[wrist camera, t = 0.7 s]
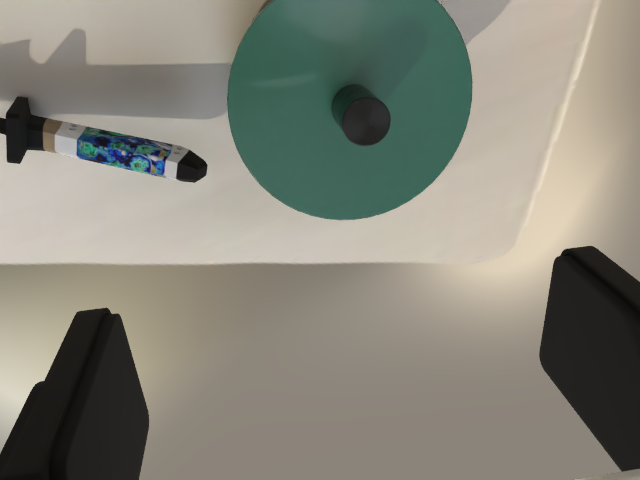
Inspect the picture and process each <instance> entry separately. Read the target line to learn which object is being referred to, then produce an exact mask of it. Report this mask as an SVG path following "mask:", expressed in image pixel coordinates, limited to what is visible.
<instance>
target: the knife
mask: <svg viewBox="0 0 640 480" xmlns="http://www.w3.org/2000/svg"><path fill="white" fill-rule="evenodd" d="M0 133H2V134H5V135H6V141H7V162H8V163H18V164H20V163H21V161H22V159H23V157H24V155H25V153H26V151H27V150H41V151H49V152H53V153H58V154H62V155H66V156H71V157H75V158H80V159H84V160H88V161H93V162H97V163H102V164H106V165H111V166H115V167H120V168H124V169H128V170H133V171H137V172H142V173H146V174H151V175H155V176H160V177H164V178H168V179H173V180H178V181H184V182H196V181H198V180H200V179H201V178H203V177H204V176H206V173H207V164H206V162H205V161H204V160H203V159H201V158H200V157H199V156H197V155H196V154H195V153H193V152H192V151H190V150H188V149H186V148H184V147H181V146H177V145H172V144H167V143H163V142H158V141H153V140H148V139H143V138H139V137H134V136H129V135H124V134H120V133H115V132H110V131H105V130H100V129H96V128H91V127H86V126H81V125H76V124H72V123H67V122H62V121H57V120H52V119H48V118H43V117H39V116H35V115H31V111H30V107H29V103H28V98H25V97H17V98H16V100H15V101H14V102H13V104H12V105H11V107H10V108H9V110H8V111H7V113H6V119H4V118H0Z"/></svg>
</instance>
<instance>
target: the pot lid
mask: <svg viewBox="0 0 640 480" xmlns="http://www.w3.org/2000/svg"><path fill="white" fill-rule="evenodd" d="M471 101H472V74H471V65H470V61H469V57H468V53H467V49H466V46H465V44H464V41H463V39H462V36H461V34H460V32H459V30H458V28H457V26H456V25H455V23H454V21H453V19H452V18H451V17H450V16H449V14H448V13H447V12H446V10H445V9H444V8H443V6H442V5H441V4H440V3H439V2H438V1H437V0H272V1H271V2H270V3H269V4H268V5H267V6H266V7H265V8H264V9H263V10H262V11H261V12H260V13H259V14H258V16H257V17H256V18H255V20H254V21H253V22H252V24H251V25H250V27H249V28H248V30H247V31H246V33H245V35H244V37H243V39H242V41H241V43H240V45H239V47H238V49H237V52H236V55H235V58H234V61H233V63H232V68H231V73H230V77H229V84H228V97H227V102H228V117H229V123H230V128H231V133H232V136H233V139H234V142H235V145H236V148H237V150H238V152H239V154H240V156H241V158H242V160H243V162H244V164H245V165H246V167H247V168H248V170H249V171H250V173H251V174H252V176H253V177H254V178H255V179H256V180H257V181H258V183H259V184H260V185H261V186H262V187H263V188H264V189H265V190H266V191H268V192H269V193H270V194H271V195H272V196H273V197H275V198H276V199H278V200H279V201H281V202H282V203H284V204H285V205H287V206H289V207H291V208H293V209H295V210H297V211H300V212H303V213H305V214H308V215H311V216H315V217H320V218H325V219H335V220H355V219H361V218H368V217H372V216H375V215H379V214H383V213H385V212H388V211H390V210H392V209H395V208H397V207H399V206H401V205H403V204H404V203H406V202H408V201H410V200H411V199H413V198H414V197H415V196H417V195H418V194H420V193H421V192H422V191H423V190H425V189H426V188H427V187H428V186H429V185H430V184H431V183H432V182H433V181H434V180H435V179H436V178H437V177H438V176H439V175H440V174H441V172H442V171H443V170H444V169H445V167H446V166H447V164H448V163H449V162H450V160H451V159H452V157H453V155H454V153H455V152H456V150H457V148H458V146H459V144H460V142H461V139H462V137H463V134H464V132H465V129H466V126H467V122H468V118H469V115H470V108H471Z"/></svg>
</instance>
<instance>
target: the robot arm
mask: <svg viewBox="0 0 640 480" xmlns="http://www.w3.org/2000/svg"><path fill="white" fill-rule="evenodd" d="M539 355H540V361H541V365H542V367H543V369H544V370H545V372H546V373H547V374H548V376H549V377H550V378H551V380H552V381H553V382H554V384H555V385H556V386H557V387H558V389H559V390H560V391H561V393H562V394H563V395H564V396H565V398H566V399H567V400H568V402H569V403H570V404H571V406H572V407H573V408H574V410H575V411H576V412H577V414H578V415H579V416H580V418H581V419H582V420H583V421H584V423H585V424H586V425H587V427H588V428H589V429H590V431H591V432H592V433H593V435H594V436H595V437H596V438H597V440H598V441H599V442H600V443H601V445H602V446H603V447H604V449H605V450H606V452H607V453H608V454H609V455H610V457H611V458H612V459H613V461H614V462H615V463H616V465H617V466H618V467H619V468H620V469H621V471H622V472H617V473H611V474H605V475H599V476H593V477H587V478H581V479H574V480H640V282H639V281H638V280H636V279H635V278H634V277H633V276H631V275H630V274H629V273H627V272H626V271H625V270H624V269H622V268H621V267H620V266H618V265H617V264H616V263H615V262H613V261H612V260H611V259H609V258H608V257H607V256H606V255H604V254H603V253H602V252H600V251H599V250H598V249H596V248H595V247H593V246H586V247H578V248H571V249H565V250H564V251H563V252H562V253H561V255H560V256H559V257H557V258H556V259H555V261H554V264H553V271H552V277H551V283H550V289H549V296H548V302H547V308H546V315H545V321H544V327H543V334H542V340H541V346H540V354H539ZM148 428H149V415H148V409H147V406H146V402H145V399H144V395H143V392H142V388H141V385H140V381H139V378H138V374H137V371H136V368H135V364H134V360H133V357H132V353H131V350H130V346H129V343H128V339H127V336H126V333H125V329H124V326H123V322H122V319H121V317H120V315H119V314H111V312H110V310H109V309H108V308H101V309H93V310H86V311H79V312H77V313H76V315H75V317H74V319H73V321H72V323H71V325H70V327H69V329H68V331H67V334H66V336H65V338H64V340H63V342H62V344H61V347H60V349H59V351H58V353H57V355H56V357H55V359H54V361H53V364H52V366H51V368H50V370H49V372H48V374H47V377H46V379H45V381H42V382H39V383H37V384H35V386H34V387H33V389H32V390H31V392H30V394H29V396H28V398H27V400H26V402H25V404H24V406H23V408H22V411H21V413H20V415H19V417H18V419H17V421H16V423H15V425H14V427H13V429H12V431H11V433H10V435H9V437H8V439H7V441H6V443H5V445H4V447H3V450H2V451H1V454H0V480H139V476H140V471H141V466H142V460H143V455H144V450H145V445H146V440H147V434H148Z"/></svg>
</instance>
